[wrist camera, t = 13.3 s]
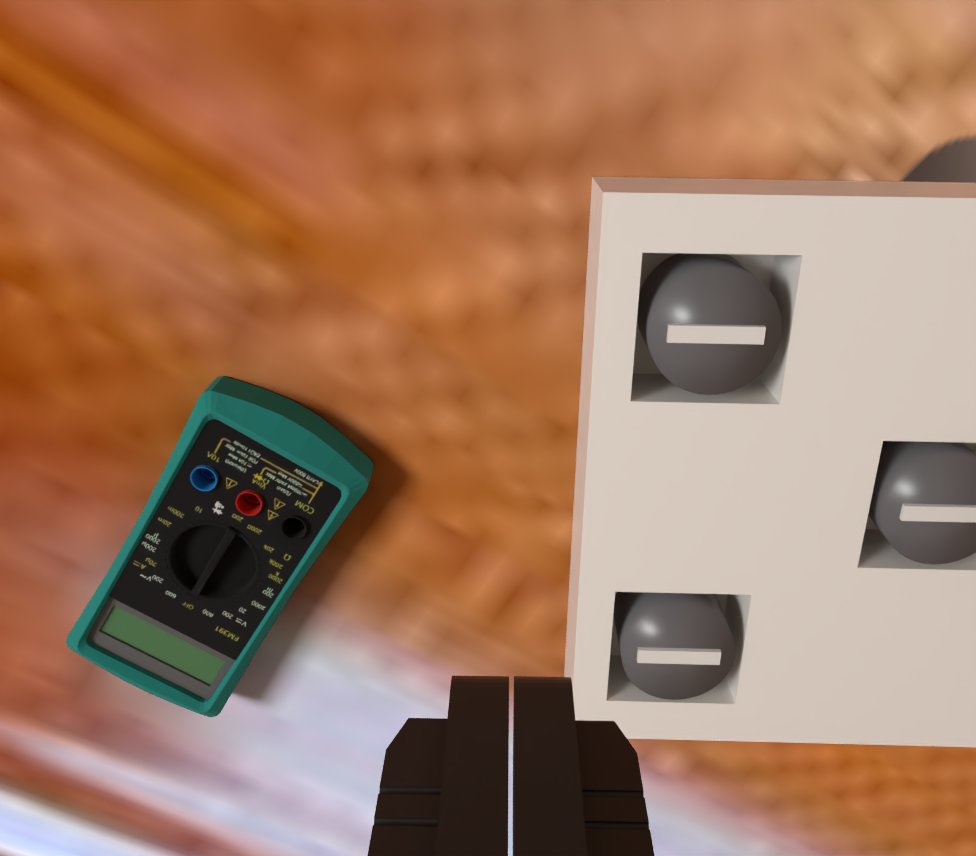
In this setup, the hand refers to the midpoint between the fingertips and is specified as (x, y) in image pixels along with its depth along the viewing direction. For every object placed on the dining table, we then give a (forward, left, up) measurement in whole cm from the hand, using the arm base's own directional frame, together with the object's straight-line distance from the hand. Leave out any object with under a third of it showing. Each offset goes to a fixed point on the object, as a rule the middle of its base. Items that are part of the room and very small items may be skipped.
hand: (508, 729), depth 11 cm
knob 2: (+13, +7, -23) cm, 28 cm away
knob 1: (0, +7, -23) cm, 24 cm away
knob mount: (+7, +11, -24) cm, 28 cm away
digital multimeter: (+12, -12, -25) cm, 30 cm away
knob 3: (+7, +16, -23) cm, 29 cm away
